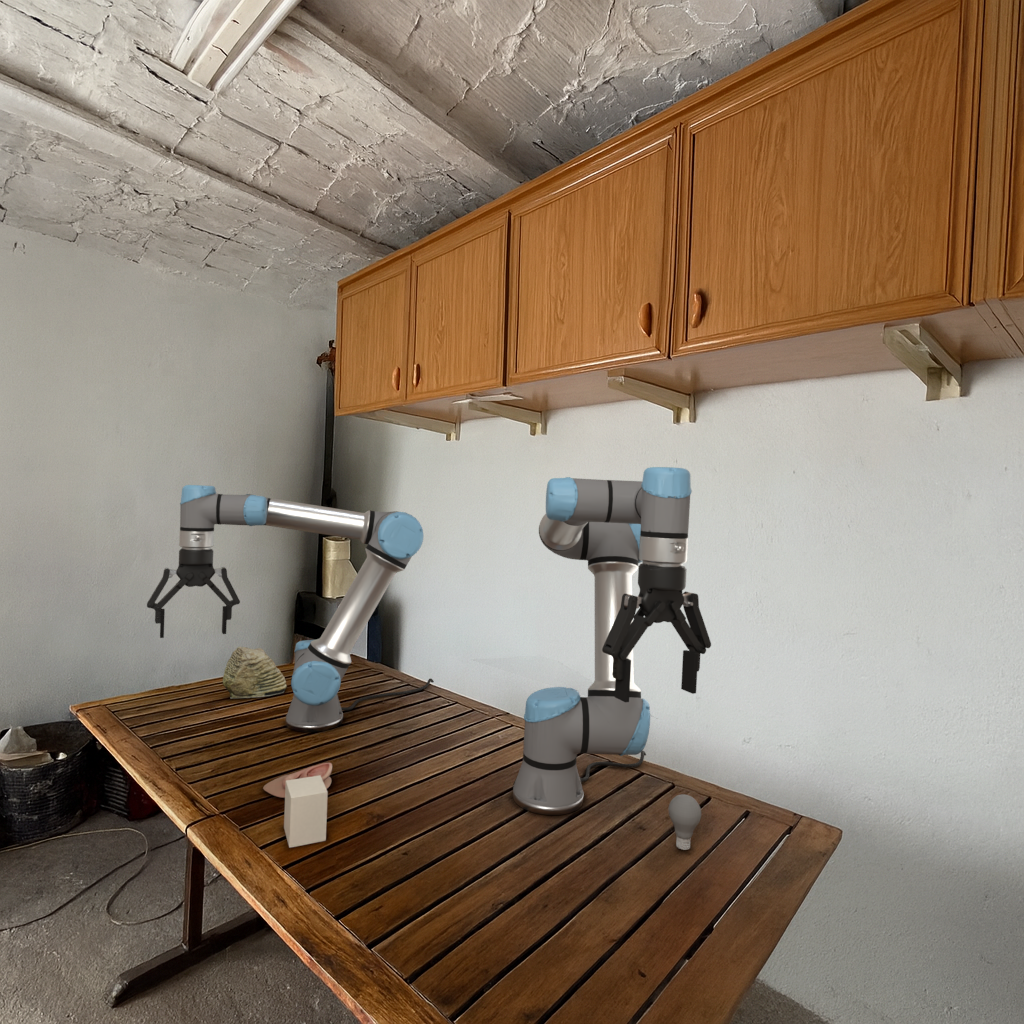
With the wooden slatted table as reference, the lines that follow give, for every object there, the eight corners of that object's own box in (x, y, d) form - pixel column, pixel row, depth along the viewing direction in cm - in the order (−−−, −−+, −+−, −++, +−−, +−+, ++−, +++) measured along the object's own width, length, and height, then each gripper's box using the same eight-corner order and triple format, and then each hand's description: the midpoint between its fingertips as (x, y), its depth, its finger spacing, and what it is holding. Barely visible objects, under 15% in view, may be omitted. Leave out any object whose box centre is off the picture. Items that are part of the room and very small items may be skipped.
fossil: (218, 695, 195) (220, 647, 195) (278, 685, 208) (279, 640, 207) (228, 703, 189) (230, 653, 188) (289, 692, 201) (290, 645, 201)
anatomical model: (255, 775, 133) (285, 754, 145) (254, 793, 133) (285, 771, 145) (313, 783, 131) (339, 761, 142) (312, 802, 131) (338, 779, 142)
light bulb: (662, 839, 122) (664, 788, 122) (692, 839, 123) (695, 788, 122) (672, 857, 116) (675, 803, 116) (704, 857, 117) (707, 803, 116)
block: (283, 827, 121) (285, 780, 121) (318, 821, 124) (320, 775, 124) (289, 848, 114) (291, 797, 114) (325, 840, 117) (327, 791, 117)
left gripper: (136, 549, 145) (133, 641, 145) (253, 549, 157) (250, 634, 158) (137, 546, 151) (134, 635, 152) (249, 546, 164) (246, 628, 164)
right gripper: (612, 567, 93) (605, 711, 93) (737, 565, 104) (730, 694, 104) (584, 561, 99) (578, 696, 100) (704, 561, 110) (698, 681, 111)
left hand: (193, 635), depth 155 cm, fingers open, 13 cm apart
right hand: (656, 695), depth 102 cm, fingers open, 13 cm apart
